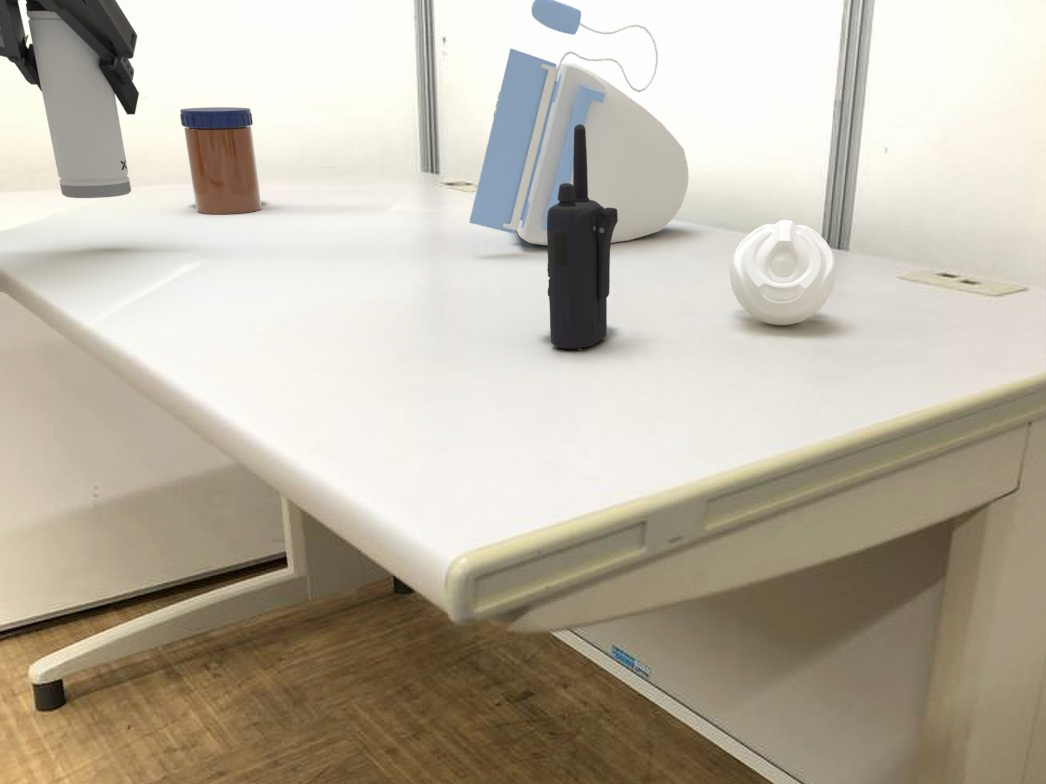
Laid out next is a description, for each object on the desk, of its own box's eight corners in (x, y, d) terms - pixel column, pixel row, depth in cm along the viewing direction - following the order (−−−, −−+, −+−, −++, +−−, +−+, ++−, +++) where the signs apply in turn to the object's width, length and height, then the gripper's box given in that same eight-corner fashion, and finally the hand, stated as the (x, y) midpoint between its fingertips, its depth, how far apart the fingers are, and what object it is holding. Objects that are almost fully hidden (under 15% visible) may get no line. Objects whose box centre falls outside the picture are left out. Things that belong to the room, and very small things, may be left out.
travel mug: (148, 192, 107) (111, -26, 100) (87, 200, 102) (44, -30, 94) (109, 188, 110) (71, -24, 102) (48, 195, 105) (4, -29, 97)
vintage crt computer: (526, -17, 99) (481, -12, 113) (468, 229, 105) (432, 204, 119) (753, 67, 110) (686, 62, 124) (688, 284, 116) (631, 256, 131)
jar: (187, 214, 131) (172, 115, 126) (208, 205, 138) (195, 111, 134) (251, 214, 131) (238, 115, 127) (269, 205, 138) (257, 111, 134)
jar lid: (171, 127, 127) (169, 111, 126) (195, 122, 134) (193, 107, 134) (241, 128, 127) (238, 111, 126) (261, 123, 135) (259, 107, 134)
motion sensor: (725, 333, 80) (729, 228, 77) (731, 309, 86) (735, 213, 84) (833, 337, 79) (841, 232, 76) (830, 313, 86) (837, 216, 83)
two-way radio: (574, 331, 80) (571, 121, 74) (629, 338, 78) (630, 124, 72) (541, 350, 75) (535, 127, 69) (599, 357, 73) (598, 129, 68)
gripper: (-165, -69, 83) (-8, 133, 104) (84, -67, 84) (190, 133, 105) (-140, -136, 86) (8, 74, 107) (101, -134, 87) (200, 75, 108)
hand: (98, 103), depth 106 cm, fingers closed on travel mug, 6 cm apart
